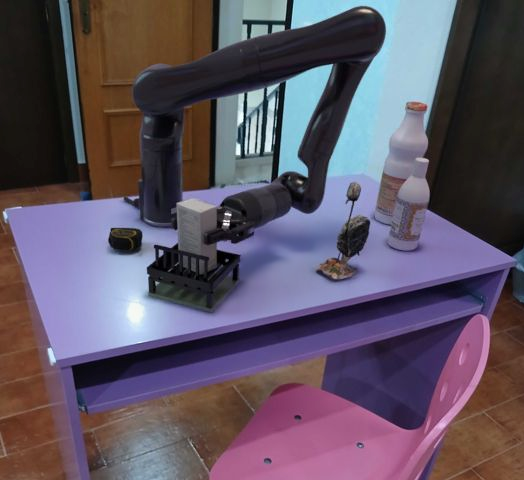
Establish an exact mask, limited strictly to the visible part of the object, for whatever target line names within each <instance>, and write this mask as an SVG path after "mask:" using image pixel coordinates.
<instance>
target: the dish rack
mask: <svg viewBox="0 0 524 480" xmlns="http://www.w3.org/2000/svg"><path fill="white" fill-rule="evenodd" d="M153 249H154V255H155V257H154V258H155V260H154V261H152V263H150V264H149V265H147V266H146V275H148V277H147V283H148V293H147V296H148V297H150V298H154V299H158V300H162V301H165V302H168V303H173V304H176V305H180V306H183V307H187V308H190V309H191V308H192V309H195V310H199V311H202V312H206V313H210V314H212V313H213V312H214V311H215V310H216V309H217V307H219V305H220V304H221V303H222V302H223V301H225V299H226V298H227V297H228V295H229V294H230V293H232V291H233V290H234V289H235V288H236V286H237V285H238V284H240V275H239V274H240V264H239V263H240V262H241V257H242V256H241V254H238V253H234V252H229V251H226V250H220V249H217V267H216V268H215V269H213V270H211V271H209V272H208V261H209V257H206V256H202V255H198V254H194V253H190V252H185V251H181V250H179V249H178V242H177V243H175V244H174V245H173V246H172V247H168V246H164V245H161V244H154V245H153ZM160 251H162V254H161V256H160ZM183 256H188V269H187V268H185V267H183ZM191 257H192V258H196V272H194V271H192V270H191ZM199 259H200V260H204V274H202V275H201V274H199ZM179 263H180V265H179ZM231 273H232V276H229V274H231ZM156 283H157V284H156Z"/></svg>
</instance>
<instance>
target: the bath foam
mask: <svg viewBox="0 0 524 480" xmlns="http://www.w3.org/2000/svg"><path fill="white" fill-rule="evenodd" d="M429 163H430V160H429V159H428V158H425V157H423V158H416V159H415V163H414V167H413V172H412V175H411V176H410V177H409V178H408V179H407V180H406V181H405V182H404V184H403V185H402V186H401V188H400V190H399V193H398V196H397V201H396V205H395V210H394V214H393V219H392V223H391V225H390V230H389V232H388V233H389V234H388V238H387V244H388V245H389V246H390V247H391V248H393V249H396V250H398V251H404V252H409V251H414V250H416V249H417V247H418V245H419V241H420V238H421V233H422V229H423V225H424V221H425V218H426V214H427V211H428V206H429V203H430V196H431V192H430V187H429V184H428V181H427V179H426V175H427V171H428V167H429Z"/></svg>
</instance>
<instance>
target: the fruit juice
mask: <svg viewBox="0 0 524 480" xmlns="http://www.w3.org/2000/svg"><path fill="white" fill-rule="evenodd" d="M404 111H405V114H404V117H403V119H402V122H401V124H400V125H399V126H398V128H397V129H395V130H394V131H393V133H392V134H391V135H390V138H389V141H388V154H387V157H386V158H385V159H384V160H385V161H384V164H383V168H382V173H381V178H380V183H379V188H378V192H377V199H376V202H375V203H376V204H375V209H374V218H375V220H376V221H378V222H379V223H381V224H384V225H389V226H391V223H392V219H393V214H394V210H395V205H396V201H397V196H398V193H399V190H400V188H401V186H402V185H403V184H404V182H405V181H406V180H407V179H408V178H409V177H410V176H411V175H412V172H413V167H414V163H415V159H416V158H424V157H425V154H426V153H427V151H428V147H429V139H428V136H427V134H426V131H425V125H424V119H425V118H424V117H425V114H426V113H427V111H428V105H427V104H426V103H425V102H420V101H407V102H406V104H405V107H404Z"/></svg>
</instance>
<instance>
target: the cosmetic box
mask: <svg viewBox="0 0 524 480" xmlns="http://www.w3.org/2000/svg"><path fill="white" fill-rule="evenodd" d="M206 202H207V201H204V200H201V199H199V198H195V197H191V198H188V199H187V198H186V199H183V201H181V202H178V203H177V226H178V230H177V243H178V249H179V250H181V251H185V252H190V253H194V254H198V255H202V256H206V257H209V261H208V272H209V271H211V270H213V269H215V268H216V267H217V250H218V245H217V243H218V242H217V243H214V244H211V245H205V244H204V234H205V233H206V232H209V231H212V230H214V229H217V206H218V205H214V204H211V203H209V202H207V203H206ZM179 265H180V263H179ZM183 267H185V268H187V269H188V256H183ZM191 270H192V271H194V272H196V258H192V257H191ZM199 274H201V275H202V274H204V260H200V259H199Z"/></svg>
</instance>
